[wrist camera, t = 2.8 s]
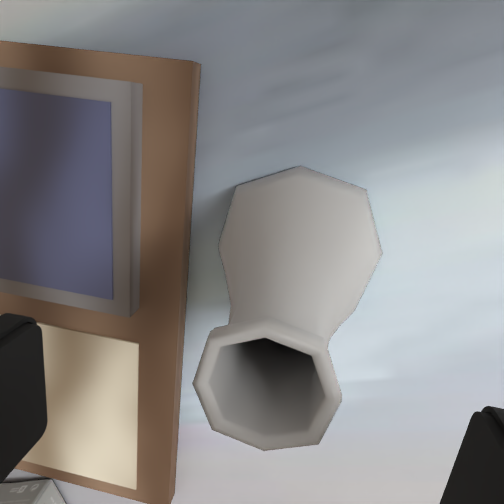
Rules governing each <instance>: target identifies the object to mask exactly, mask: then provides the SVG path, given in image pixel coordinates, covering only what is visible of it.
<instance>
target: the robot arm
mask: <svg viewBox="0 0 504 504" xmlns="http://www.w3.org/2000/svg"><path fill="white" fill-rule="evenodd" d="M47 422H48V417H47V401H46V385H45V369H44V354H43V338H42V329H41V327H40V326H38V325H37V322H36V321H35V319H34V318H32V317H27V316H22V315H17V314H12V313H5V314H2V315H0V484H1V483H2V481H3V480H4V479H5V478H6V477H7V476H8V475H9V474H10V472H11V471H12V470H13V469H14V468H15V467H16V466H17V465H18V463H19V462H20V461H21V460H22V459H23V458H24V457H25V456H26V454H27V453H28V452H29V451H30V450H31V449H32V448H33V446H34V445H35V444H36V443H37V442H38V441H39V440H40V438H41V437H42V436H43V434H44V432H45V430H46V427H47ZM440 504H504V409H501V408H496V407H491V406H487V407H485V408H484V409H482V411H481V412H475V413H474V414H473V415H472V417H471V420H470V422H469V425H468V428H467V431H466V433H465V436H464V439H463V441H462V444H461V447H460V450H459V452H458V455H457V458H456V461H455V463H454V466H453V469H452V471H451V474H450V477H449V480H448V482H447V485H446V488H445V490H444V493H443V496H442V499H441V501H440Z"/></svg>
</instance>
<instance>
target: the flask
mask: <svg viewBox="0 0 504 504" xmlns="http://www.w3.org/2000/svg"><path fill="white" fill-rule="evenodd" d="M218 247H219V253H220V256H221V260H222V263H223V267H224V271H225V275H226V281H227V286H228V292H229V297H230V303H231V308H230V316H229V323H228V325H226V326H221V327H216V328H214V329H213V330H212V331H210V334H209V336H208V339H207V342H206V345H205V348H204V351H203V354H202V357H201V360H200V363H199V366H198V369H197V371H196V374H195V377H194V380H193V383H192V384H193V386H194V388H195V391H196V393H197V395H198V398H199V400H200V403H201V405H202V407H203V410H204V412H205V414H206V417H207V419H208V421H209V424H210V426H211V428H212V430H214V431H217V432H219V433H222V434H224V435H226V436H229V437H231V438H234V439H236V440H239V441H241V442H244V443H246V444H248V445H251V446H253V447H256V448H258V449H261V450H263V451H267V450H275V449H284V448H292V447H300V446H309V445H317V444H319V443H320V441H321V439H322V437H323V435H324V433H325V431H326V430H327V428H328V426H329V424H330V422H331V420H332V418H333V416H334V414H335V412H336V411H337V409H338V407H339V405H340V403H341V400H342V393H341V390H340V387H339V384H338V380H337V377H336V374H335V371H334V368H333V364H332V361H331V358H330V355H329V351H328V344H329V341H330V338H331V336H332V335H333V334H334V333H335V331H336V330H337V329H338V327H339V326H340V325H341V324H342V323H343V322H344V321H345V320H346V319H347V318H348V317H349V316H350V315H351V314H352V313H353V312H354V310H355V309H356V307H357V305H358V303H359V301H360V299H361V297H362V295H363V292H364V290H365V288H366V286H367V284H368V282H369V280H370V278H371V276H372V274H373V272H374V270H375V268H376V266H377V264H378V262H379V260H380V258H381V256H382V250H381V246H380V242H379V238H378V234H377V230H376V226H375V222H374V218H373V214H372V210H371V206H370V202H369V198H368V194H367V190H366V189H363V188H360V187H358V186H355V185H352V184H349V183H346V182H344V181H341V180H338V179H335V178H333V177H330V176H327V175H324V174H321V173H319V172H316V171H313V170H310V169H308V168H305V167H302V166H298V167H295V168H292V169H289V170H286V171H283V172H279V173H276V174H273V175H270V176H267V177H264V178H260V179H257V180H254V181H251V182H248V183H245V184H241V185H238V186H236V189H235V192H234V195H233V198H232V202H231V205H230V208H229V211H228V214H227V218H226V221H225V224H224V227H223V230H222V234H221V237H220V240H219V243H218Z"/></svg>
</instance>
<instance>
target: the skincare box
mask: <svg viewBox="0 0 504 504" xmlns="http://www.w3.org/2000/svg"><path fill="white" fill-rule="evenodd" d="M0 504H66V503H65V501H64V499H63V498H62V496H61V494H60V493H59V491H58V489H57V487H56V486H55V484H54V482H53V481H52V480H51V479H47V480H34V481H26V482H18V483H2V484H0Z"/></svg>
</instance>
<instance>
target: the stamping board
mask: <svg viewBox="0 0 504 504" xmlns="http://www.w3.org/2000/svg"><path fill="white" fill-rule="evenodd" d="M200 70H201V64H199V63H196V62H194V61H187V60H177V59H168V58H159V57H149V56H140V55H130V54H121V53H112V52H102V51H93V50H84V49H74V48H65V47H55V46H46V45H37V44H27V43H18V42H9V41H0V315H2V314H5V313H12V314H17V315H22V316H27V317H32V318H34V319H35V321H36V322H37V325H38V326H40V327H41V329H42V338H43V354H44V369H45V385H46V401H47V417H48V422H47V427H46V430H45V432H44V434H43V436H42V437H41V438H40V440H39V441H38V442H37V443H36V444H35V445H34V446H33V448H32V449H31V450H30V451H29V452H28V453H27V454H26V456H25V457H24V458H23V459H22V460H21V461H20V462H19V463H18V465H17V466H16V467H15V469H19V470H23V471H27V472H30V473H34V474H38V475H42V476H46V477H49V478H53V479H57V480H61V481H64V482H68V483H72V484H76V485H80V486H83V487H87V488H91V489H95V490H98V491H102V492H106V493H110V494H114V495H117V496H121V497H125V498H129V499H132V500H136V501H140V502H144V503H147V504H171V501H172V499H173V496H174V493H175V476H176V460H177V444H178V428H179V411H180V395H181V379H182V363H183V346H184V330H185V314H186V298H187V281H188V265H189V249H190V233H191V216H192V200H193V184H194V168H195V151H196V135H197V119H198V103H199V86H200Z"/></svg>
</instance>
